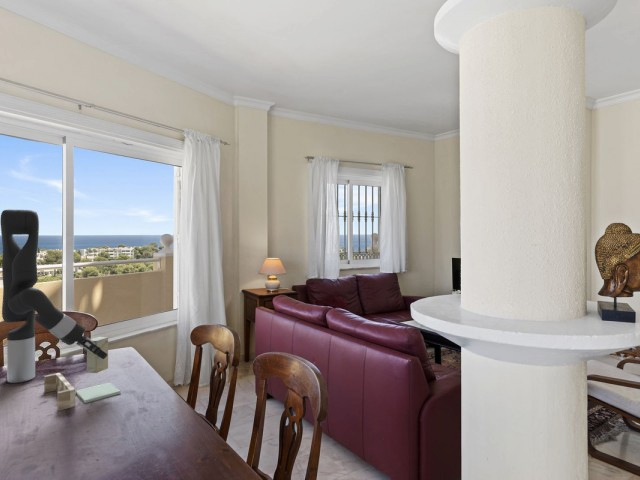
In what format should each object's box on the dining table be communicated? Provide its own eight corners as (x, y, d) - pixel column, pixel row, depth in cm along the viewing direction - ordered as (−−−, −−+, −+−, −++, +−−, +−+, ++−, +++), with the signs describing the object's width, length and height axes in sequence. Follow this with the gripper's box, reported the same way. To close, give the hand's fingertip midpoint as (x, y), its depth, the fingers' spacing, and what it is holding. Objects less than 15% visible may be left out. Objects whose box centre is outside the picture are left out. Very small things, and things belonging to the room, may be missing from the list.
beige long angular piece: (44, 391, 149) (44, 375, 149) (59, 387, 153) (59, 372, 153) (58, 410, 134) (58, 393, 134) (75, 406, 137) (75, 389, 137)
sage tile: (75, 393, 148) (75, 390, 148) (109, 384, 157) (109, 382, 156) (84, 403, 140) (84, 400, 140) (120, 393, 148) (120, 390, 148)
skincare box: (96, 373, 144) (96, 341, 144) (86, 372, 145) (86, 340, 145) (108, 368, 150) (108, 336, 150) (98, 367, 151) (98, 336, 151)
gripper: (80, 324, 137) (116, 350, 146) (69, 317, 147) (103, 342, 156) (62, 341, 133) (100, 368, 142) (53, 334, 143) (89, 359, 152)
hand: (102, 354), depth 149 cm, fingers closed on skincare box, 6 cm apart
